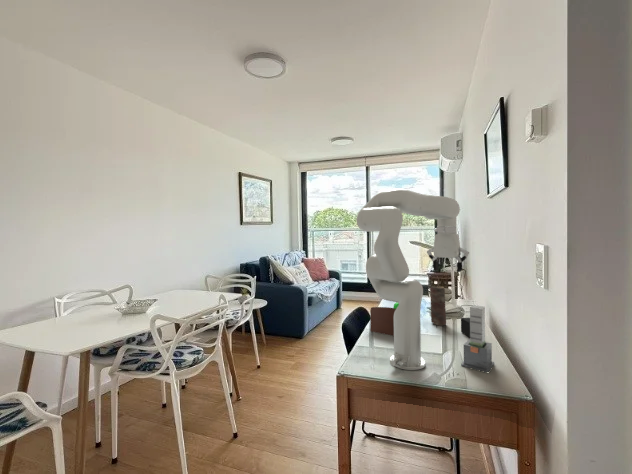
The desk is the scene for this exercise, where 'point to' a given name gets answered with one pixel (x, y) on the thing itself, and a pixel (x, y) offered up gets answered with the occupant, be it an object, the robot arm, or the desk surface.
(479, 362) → the stand base
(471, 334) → the column
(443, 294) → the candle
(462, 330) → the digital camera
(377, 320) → the letter holder
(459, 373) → the desk surface
